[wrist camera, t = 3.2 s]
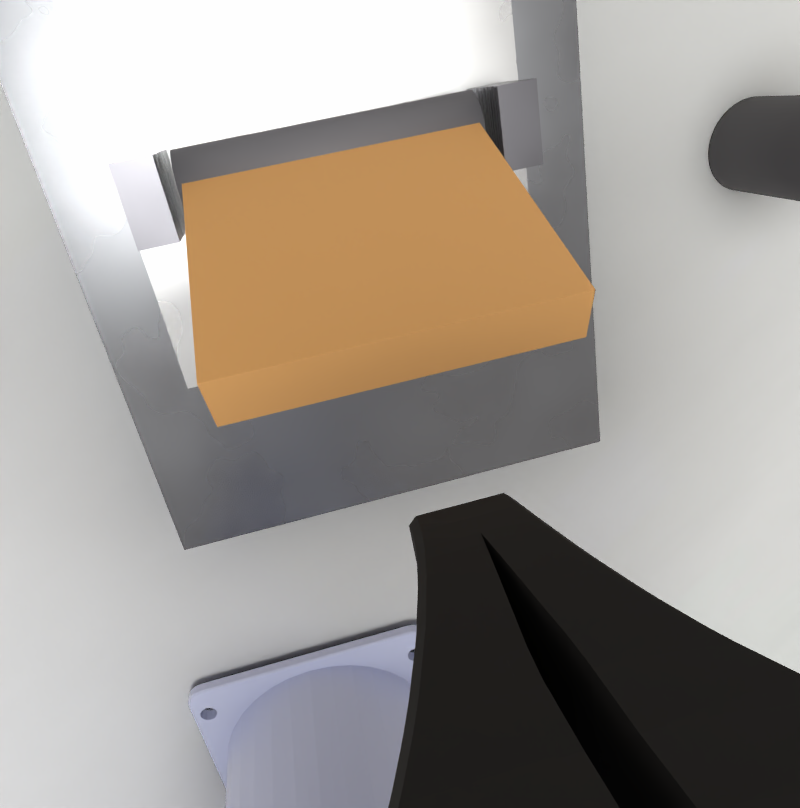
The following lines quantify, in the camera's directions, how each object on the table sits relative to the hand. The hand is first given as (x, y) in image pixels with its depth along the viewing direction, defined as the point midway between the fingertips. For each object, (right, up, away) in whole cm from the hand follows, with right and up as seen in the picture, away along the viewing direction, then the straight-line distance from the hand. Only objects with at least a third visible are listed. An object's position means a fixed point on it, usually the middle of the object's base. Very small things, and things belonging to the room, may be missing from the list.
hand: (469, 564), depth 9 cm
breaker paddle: (-2, +7, +5) cm, 9 cm away
